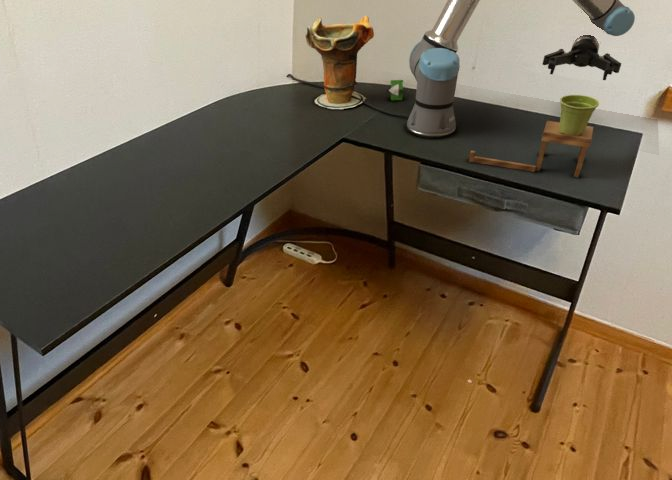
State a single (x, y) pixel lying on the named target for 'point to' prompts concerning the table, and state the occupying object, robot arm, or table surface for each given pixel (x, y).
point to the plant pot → (576, 113)
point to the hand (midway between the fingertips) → (578, 72)
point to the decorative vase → (339, 59)
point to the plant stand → (549, 135)
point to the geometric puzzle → (396, 90)
